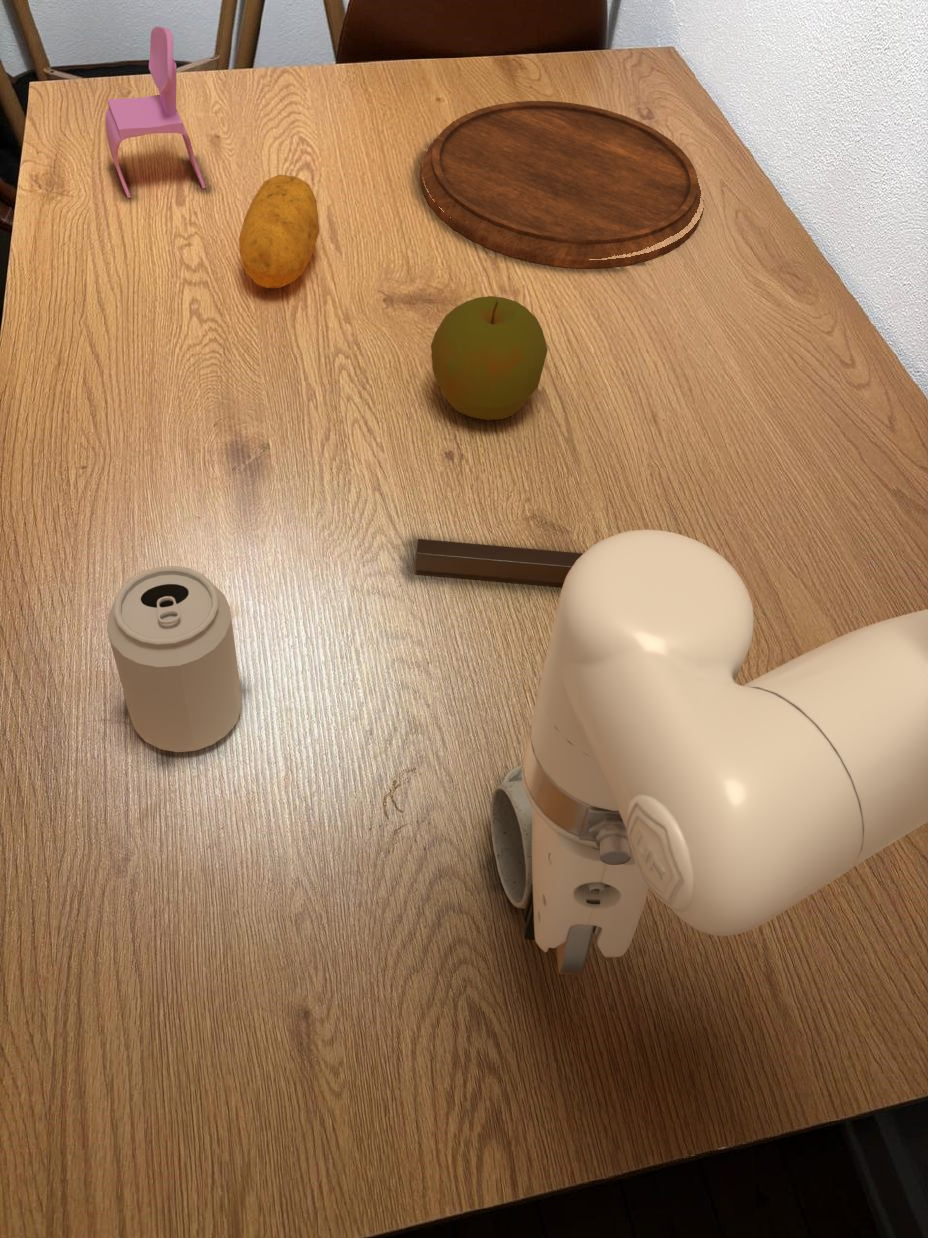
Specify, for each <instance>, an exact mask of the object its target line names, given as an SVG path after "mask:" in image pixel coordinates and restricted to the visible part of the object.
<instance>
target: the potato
mask: <svg viewBox="0 0 928 1238" xmlns="http://www.w3.org/2000/svg"><path fill="white" fill-rule="evenodd" d="M317 203H318V202H317V198H316V196H315V193H314V191H313V189H312V188H311V185H310V184H309V183H308V182H307V181H305V180H303V179H301V178H300V177H298V176H294V175H285V174H277V175H275V176H273V177H270V178H269V179H266V180H264V181H263V183H262V184H261V185H260V188H259V189H258V190H257V192H256V193H255V195H254V196H253V198H252V200H251V203H250V205H249V207H248V209H247V212H246V214H245V217H244V220H243V223H242V225H241V226H242V227H241V229H240V232H239V233H240V234H239V236H238V237H239V238H238V241H239V243H238V247H239V255H240V259H241V263H242V266H243V270H244V272H245V273H246V274H247V275H248V276H249V277H250V279H252V280H253V282H254V283H255V284H256V285H257V286H259V287H262V288H265V289H280V288H282V287H285V286H286V285H289V284H290V283H293V282H295V281H296V280H297V279H298V278H299V277H300V276H301V275H303V273H304V271H305V269H306V267H307V265H308V263H309V262H310V261H311V258H313V257H312V256H313V253H314V251H315V248H316V244H317V242H318V237H319V234H320V222H319V212H318V205H317Z"/></svg>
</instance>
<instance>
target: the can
mask: <svg viewBox="0 0 928 1238" xmlns="http://www.w3.org/2000/svg"><path fill="white" fill-rule="evenodd" d="M233 626H234V625H233V618H232V612H231V606H230V604H229V601H228V599H227V597H226V596H225V593H223V592H222V591H221V590H220V589H219V588H218V587H217V586H216V585H215V584H214V583H213V582H212V581H211V580H210V579H209V578H207V576H205V574H204V573H201V572H199V571H197V570H195V569H193V568H190V567H185V566H179V565H164V566H163V565H162V566H156V567H152V568H149V569H146V570H143V571H142V572H140V573H138V574H136V575H134V576H133V577H131V578H129V579H128V580H127V581H126V583H124V585H122V587H121V588H119V591H117V595H116V597H115V599H114V601H113V604H112V606H111V608H110V610H109V612H108V614H107V622H106V632H107V635H108V639H109V643H110V647H111V650H112V655H113V658H114V661H115V662H114V663H115V666H116V669H117V674H118V677H119V680H120V684H121V688H122V692H123V695H124V699H125V703H126V707H127V710H128V714H129V718H130V721H131V723H132V726H133V728H134V731H135V732H136V734H138V735H139V737H140V738H141V739H142V740H143V741H144V742H145V743H147V744H149V745H151V746H153V747H155V748H157V749H159V750H162V751H163V750H164V751H168V752H174V753H184V752H195V751H199V750H201V749H205V748H207V747H210V746H213V745H214V744H216V743H217V742H218V741H220V740H222V739H223V738H225V737H227V735H228V734H229V733H230V731H232V729H233V728H234V726H235V725H236V724H237V723H238V720H239V717H240V715H241V712H242V709H243V705H242V704H243V703H242V702H243V701H242V689H241V682H240V674H239V666H238V659H237V650H236V649H237V648H236V644H235V643H236V642H235V634H234V627H233Z"/></svg>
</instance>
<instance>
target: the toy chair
mask: <svg viewBox="0 0 928 1238" xmlns="http://www.w3.org/2000/svg"><path fill="white" fill-rule="evenodd" d="M149 43H150V47H149V48H150V49H149V60H148V70H149V72H150V75H151V78H152V80H153V82H154V84H155V86H156V88H157V90H158V92H159V94H154V95H149V96H142V97H131V98H130V97H129V98H128V97H127V98H126V97H125V98H124V97H123V98H122V97H121V98H112V99H107V104H108V108H107V110H106V112H105V121H104V122H105V133H106V139H107V145H108V148H109V152H110V155H111V157H112V161H113V163H114V166H115V169H116V171H117V174H118V177H119V179H120V182H121V185H122V188H123V190H124V193H125V195H126V197H127V199H129V198H130V199H131V198H132V196H131V194H130V190H129V189H128V185H127V183H126V180H125V177H124V175H123V171H122V169H121V167H120V163H119V151H120V150H119V149H120V145H121V144H122V142H123V141H125V140H127V139H131V138H137V137H142V136H146V135H153V134H180V135H181V136H182V139H183V142H184V145H185V148H186V152H187V155H188V158H189V161H190V165H192V167H193V170H194V173H195V175H196V177H197V180H198V181H199V184H200V186H201V188H202V189H207V188H206V184H205V182H204V178H203V177H202V174H201V171H200V169H199V165H198V163H197V159H196V157H195V154H194V149H193V146H192V142H191V138H190V136H189V134H188V131H187V129H186V127H185V124H184V123H183V121H182V118H181V116H180V113H179V111H178V110H177V63H176V61H175V59H174V36H173V32H172V31H171V30H170V29H169V28H167V27H164V26H155V27H153V28H152V29H151V32H150V41H149Z"/></svg>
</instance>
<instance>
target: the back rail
mask: <svg viewBox="0 0 928 1238" xmlns="http://www.w3.org/2000/svg"><path fill="white" fill-rule="evenodd" d="M416 540H417V541H416V542H417V543H416V551H415V564H414V574H415V575H421V576H431V577H443V578H455V579H466V580H478V581H479V580H480V581H489V582H501V583H510V584H511V583H512V584H523V585H524V584H525V585H536V586H545V587H546V586H547V587H558V588H562V587H563V584H564V581H565V578H566V576H567V574H568V572H569V571H570V569H571V568H572V567H573V565H574V563H575V562H576V560H577V559H578V558H579V557H581V556H582V555H583V554H584V553H585V552H570V551H561V550H560V551H559V550H551V549H550V550H549V549H537V548H527V547H517V546H516V547H514V546H506V545H505V546H503V545H493V544H483V543H482V544H480V543H469V542H458V541H447V540H437V539H425V538H424V539H423V538H418V539H416Z"/></svg>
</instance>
